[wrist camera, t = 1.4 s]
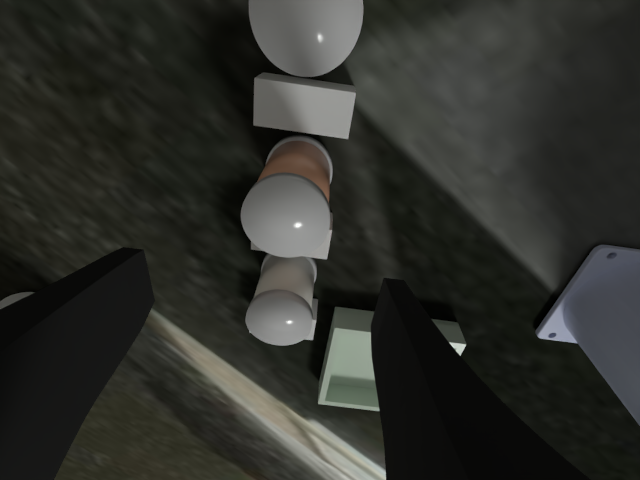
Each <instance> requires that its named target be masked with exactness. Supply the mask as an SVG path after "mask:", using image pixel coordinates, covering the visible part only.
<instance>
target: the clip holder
mask: <svg viewBox="0 0 640 480" xmlns="http://www.w3.org/2000/svg"><path fill="white" fill-rule="evenodd" d="M355 96H356V91H355V87H354V86H353V85H346V84H339V83H333V82H326V81H319V80H312V79H306V78H299V77H292V76H286V75H279V74H272V73H265V72H263V73H261V74H260V75H258V76H256V77H255V78H254V120H253V125H254V126H261V127H268V128H275V129H282V130H289V131H296V132H303V133H310V134H317V135H324V136H330V137H337V138H344V139H348V136H349V130H350V125H351V119H352V113H353V107H354V102H355ZM332 216H333V213H330V228H329V232H328V234H327V237H326V238H325V240H324V242H323V243H322V244H321V245H320V246H319V247H318V248H317V249H315V250H314V251H312V252H310V253H309V254H306V255H303V256H304V257H312V258H319V259H327V256H328V250H329V245H330V239H331V233H332ZM251 249H252V250H259V251H263V250H261V249H260V248H258V247H257V246H256V245H255V244H254V243H253V242H252V241H251ZM317 305H318V299H312V313H313V318H312V328H311V331H310V333H309V335H308V336H307V337H306V338H305V339H306V340H313V336H314V331H315V325H316V318H317ZM249 332H250V331H249ZM250 333H251V332H250Z"/></svg>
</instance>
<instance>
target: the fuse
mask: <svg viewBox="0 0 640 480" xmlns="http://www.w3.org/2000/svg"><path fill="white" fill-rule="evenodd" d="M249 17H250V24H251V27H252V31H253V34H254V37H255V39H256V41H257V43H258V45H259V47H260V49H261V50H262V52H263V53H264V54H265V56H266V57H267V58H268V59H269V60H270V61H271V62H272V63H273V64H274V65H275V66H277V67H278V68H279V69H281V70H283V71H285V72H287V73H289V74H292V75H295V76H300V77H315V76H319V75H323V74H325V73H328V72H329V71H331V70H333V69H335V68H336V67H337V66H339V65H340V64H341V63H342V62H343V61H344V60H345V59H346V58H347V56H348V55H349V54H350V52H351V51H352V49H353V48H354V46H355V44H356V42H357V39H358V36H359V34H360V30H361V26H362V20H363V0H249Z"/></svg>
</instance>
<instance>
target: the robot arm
mask: <svg viewBox="0 0 640 480" xmlns="http://www.w3.org/2000/svg"><path fill="white" fill-rule="evenodd" d="M610 253H611V254H610ZM608 254H609V255H608ZM154 301H155V300H154V295H153V290H152V286H151V281H150V276H149V272H148V267H147V263H146V258H145V253H144V250H142V249H133V248H125V247H123V248H121V249H118V250H116V251H114V252H112V253H110V254H108V255H106V256H104V257H102V258H100V259H98V260H96V261H95V262H93V263H91V264H89V265H87V266H85V267H83V268H81V269H79V270H78V271H76V272H74V273H72V274H70V275H68V276H66V277H64V278H62V279H60V280H58V281H57V282H55V283H53V284H51V285H49V286H47V287H45V288H43V289H41V290H39V291H37V292H35V293H33V294H31V295H29V296H27V297H24V298H22V299H20V300H18V301H16V302H14V303H12V304H10V305H8V306H6V307H4V308H2V309H0V480H54V478H55V476H56V474H57V472H58V470H59V468H60V466H61V464H62V462H63V460H64V458H65V456H66V454H67V452H68V450H69V448H70V446H71V444H72V442H73V440H74V438H75V436H76V435H77V433H78V431H79V429H80V427H81V425H82V423H83V421H84V419H85V417H86V416H87V414H88V412H89V411H90V409H91V407H92V406H93V404H94V402H95V401H96V399H97V397H98V396H99V394H100V393H101V391H102V390H103V388H104V387H105V385H106V384H107V382H108V381H109V379H110V377H111V376H112V374H113V373H114V371H115V370H116V368H117V367H118V365H119V364H120V362H121V361H122V359H123V358H124V356H125V354H126V353H127V351H128V350H129V348H130V347H131V345H132V344H133V342H134V340H135V339H136V337H137V336H138V334H139V332H140V331H141V329H142V327H143V325H144V323H145V321H146V319H147V317H148V314H149V312H150V310H151V308H152V306H153V303H154ZM536 334H537V336H538V337H539V338H541V339H548V340H556V341H564V342H572V343H578V344H579V345H580V347H581V348H582V349H583V351H584V352H585V353H586V355H587V356H588V357H589V359H590V360H591V361H592V363H593V364H594V365H595V367H596V368H597V369H598V371H599V372H600V373H601V375H602V376H603V377H604V379H605V380H606V381H607V383H608V384H609V385H610V387H611V388H612V389H613V391H614V392H615V393H616V395H617V396H618V397H619V399H620V400H621V401H622V403H623V404H624V405H625V407H626V408H627V409H628V411H629V412H630V413H631V415H632V416H633V417H634V419H635V420H636V421H637V423H638V424H639V425H640V249H633V248H625V247H618V246H611V245H599V246H596V247H595V248H594V249H593V250H592V251H591V252H590V254H589V255H588V257H587V258H586V259H585V261H584V262H583V264H582V265H581V267H580V268H579V269H578V271H577V272H576V274H575V275H574V277H573V278H572V279H571V281H570V282H569V284H568V285H567V287H566V288H565V289H564V291H563V292H562V294H561V295H560V297H559V298H558V299H557V301H556V302H555V304H554V305H553V307H552V308H551V309H550V311H549V312H548V314H547V315H546V317H545V318H544V319H543V321H542V322H541V324H540V325H539V327H538V328H537V329H536ZM371 354H372V363H373V370H374V377H375V384H376V390H377V397H378V403H379V410H380V416H381V423H382V430H383V438H384V447H385V463H386V480H590V479H589V478H588V477H587V476H585V475H584V474H583V473H582V472H580V471H579V470H578V469H577V468H576V467H574V466H573V465H572V464H571V463H570V462H568V461H567V460H566V459H565V458H564V457H562V456H561V455H560V454H559V453H558V452H557V451H555V450H554V449H553V448H552V447H551V446H550V445H548V444H547V443H546V442H545V441H544V440H543V439H542V438H541V437H539V436H538V435H537V434H536V433H535V432H534V431H533V430H532V429H531V428H530V427H529V426H527V425H526V424H525V423H524V422H523V421H522V420H521V419H520V418H519V417H518V416H517V415H516V414H514V413H513V412H512V411H511V410H510V409H509V408H508V407H507V406H506V405H505V404H504V403H503V402H502V401H501V400H500V399H499V398H498V397H497V396H496V395H495V394H494V393H493V392H492V391H491V389H490V388H489V387H488V386H487V385H486V384H485V383H484V382H483V381H482V380H481V379H480V378H479V377H478V376H477V375H476V374H475V373H474V371H473V370H472V369H471V368H470V367H469V366H468V365H467V363H466V362H465V361H464V360H463V359H462V358H461V356H460V355H459V354H458V353H457V352H456V350H455V349H454V348H453V347H452V346H451V344H450V343H449V342H448V341H447V339H446V338H445V337H444V335H443V334H442V333H441V331H440V330H439V329H438V327H437V326H436V325H435V323H434V322H433V321H432V319H431V318H430V317H429V315H428V314H427V312H426V311H425V310H424V308H423V307H422V305H421V304H420V302H419V301H418V300H417V298H416V297H415V295H414V294H413V292H412V291H411V289H410V288H409V287H408V285H407V284H406V282H405V281H404V280H398V279H389V278H384V279H383V283H382V286H381V290H380V293H379V297H378V301H377V304H376V308H375V311H374V315H373V319H372V322H371Z"/></svg>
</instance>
